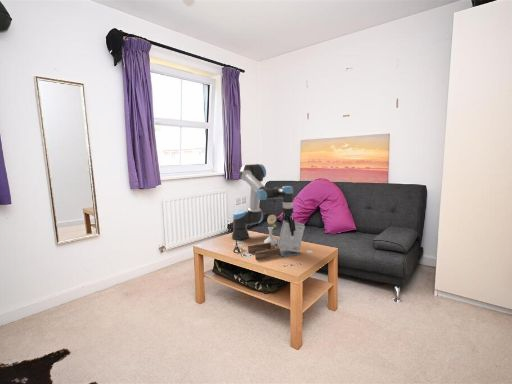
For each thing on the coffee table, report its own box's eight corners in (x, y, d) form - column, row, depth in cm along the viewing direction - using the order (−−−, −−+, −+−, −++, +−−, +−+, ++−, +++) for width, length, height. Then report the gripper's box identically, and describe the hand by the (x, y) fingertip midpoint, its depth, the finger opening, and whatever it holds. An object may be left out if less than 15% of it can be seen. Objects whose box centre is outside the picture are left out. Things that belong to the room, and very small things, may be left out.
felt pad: (276, 251, 202) (276, 251, 202) (292, 249, 207) (292, 248, 207) (283, 257, 191) (283, 256, 191) (300, 254, 196) (300, 253, 196)
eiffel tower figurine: (235, 256, 196) (234, 238, 194) (225, 253, 202) (224, 236, 201) (248, 250, 207) (248, 233, 206) (239, 248, 214) (238, 231, 212)
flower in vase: (261, 243, 221) (260, 213, 218) (271, 241, 228) (271, 211, 224) (271, 248, 210) (270, 216, 207) (282, 244, 217) (281, 214, 214)
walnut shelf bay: (248, 252, 203) (247, 245, 202) (270, 248, 209) (270, 242, 209) (256, 259, 187) (255, 252, 187) (280, 255, 194) (279, 248, 193)
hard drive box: (297, 249, 202) (304, 223, 199) (298, 252, 195) (305, 226, 192) (277, 244, 202) (283, 219, 200) (277, 247, 195) (284, 221, 192)
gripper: (276, 205, 203) (277, 234, 206) (290, 210, 183) (291, 243, 186) (285, 204, 206) (286, 233, 209) (300, 209, 186) (300, 241, 188)
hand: (288, 237), depth 197 cm, fingers closed on hard drive box, 9 cm apart
